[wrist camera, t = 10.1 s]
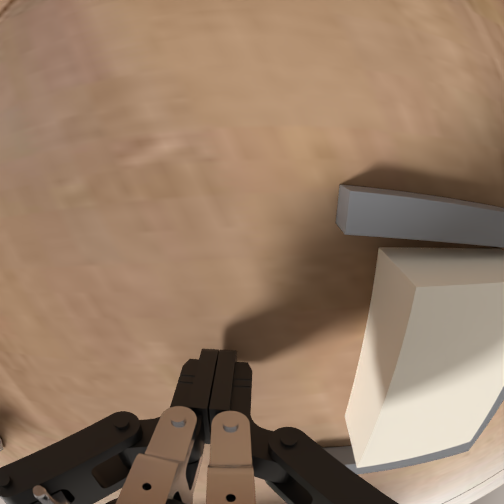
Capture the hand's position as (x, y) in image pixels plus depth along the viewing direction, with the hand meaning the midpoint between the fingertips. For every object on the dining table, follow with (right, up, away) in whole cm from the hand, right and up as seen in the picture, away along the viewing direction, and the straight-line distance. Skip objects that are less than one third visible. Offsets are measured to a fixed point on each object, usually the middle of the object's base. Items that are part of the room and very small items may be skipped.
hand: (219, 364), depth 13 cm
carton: (+10, +1, +1) cm, 10 cm away
